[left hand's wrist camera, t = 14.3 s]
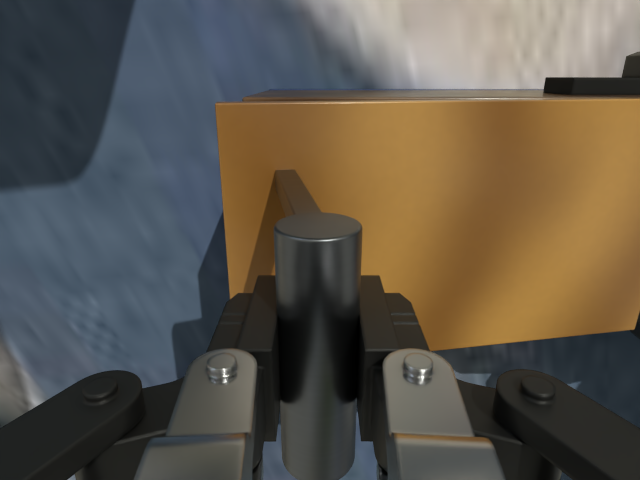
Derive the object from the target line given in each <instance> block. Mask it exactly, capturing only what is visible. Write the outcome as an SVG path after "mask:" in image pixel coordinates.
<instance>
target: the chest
mask: <svg viewBox="0 0 640 480" xmlns="http://www.w3.org/2000/svg"><path fill="white" fill-rule="evenodd" d="M543 92H544V89H270V90H269V91H265V92H261V93H258V94H254V95H250V96H247V97H244V98H243V99H242V101H243V102H254V101H361V100H467V99H573V98H640V95H565V94H553V93H543Z"/></svg>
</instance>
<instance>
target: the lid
mask: <svg viewBox="0 0 640 480" xmlns="http://www.w3.org/2000/svg"><path fill="white" fill-rule="evenodd" d="M215 111H216V124H217V137H218V150H219V163H220V176H221V189H222V202H223V215H224V228H225V241H226V254H227V267H228V280H229V293H230V299H231V298H233V297H234V296H235V295H236V294H238V293H253V290H254V287H255V284H256V280H257V277H258V275H275V280H276V306H277V315H278V338H279V366H280V393H281V402H280V413H281V440H282V459H283V463H284V465H285V467H286V469H287V470H288V472H289V473H290V474H291V475H292V476H294V477H295V478H296V479H298V480H339V479H340V478H342V477H343V476H344V475H345V474H346V473H347V472H348V471H349V470H350V468H351V467H352V465H353V462H354V458H355V435H356V405H357V398H356V395H357V366H358V337H359V313H360V289H361V275H379V276H380V278H381V282H382V285H383V289H384V292H385V293H400V294H401V295H403V296H404V297H405V298H406V299H408V300H409V301H410V302H411V304H412V306H413V309H414V311H415V315H416V316H417V319H418V321H419V325H420V327H421V329H422V332H423V334H424V337H425V339H426V342H427V344H428V347H429V350H430V351H438V350H447V349H457V348H466V347H475V346H485V345H494V344H504V343H513V342H522V341H532V340H541V339H550V338H560V337H569V336H579V335H588V334H597V333H607V332H616V331H625V330H634V329H635V326H636V323H637V319H638V315H639V312H640V98H573V99H467V100H361V101H254V102H216V104H215Z"/></svg>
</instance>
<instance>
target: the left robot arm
mask: <svg viewBox="0 0 640 480" xmlns="http://www.w3.org/2000/svg"><path fill="white" fill-rule="evenodd" d="M356 398H357V407H358V416H359V426H360V435H361V441H373V445H374V452H375V457H376V459H377V480H560V478H561V474H562V472H564V473H565V474H566V475H568V476H569V477H570V478H571V479H573V480H640V428H638V427H637V426H635V425H633V424H632V423H630V422H628V421H627V420H625V419H623V418H622V417H620V416H618V415H617V414H615V413H613V412H612V411H610V410H608V409H607V408H605V407H603V406H602V405H600V404H598V403H597V402H595V401H593V400H592V399H590V398H588V397H587V396H585V395H583V394H582V393H580V392H578V391H577V390H575V389H573V388H572V387H570V386H568V385H567V384H565V383H563V382H562V381H560V380H558V379H556V378H554V377H552V376H550V375H548V374H545V373H542V372H538V371H533V370H526V369H516V370H510V371H507V372H505V373H503V374H502V375H501V376H500V377H499V378H498V380H497V385H496V389H495V388H490V387H485V386H480V385H476V384H471V383H467V382H464V381H461V380H458V379H456V377H455V374H454V371H453V369H452V366H451V365H450V364H449V362H447V361H446V360H445V359H444V358H442V357H441V356H439V355H437V354H435V353H433V352H430V350H429V347H428V344H427V342H426V339H425V337H424V334H423V332H422V329H421V327H420V325H419V321H418V319H417V316H416V315H415V311H414V309H413V306H412V304H411V302H410V301H409V300H408V299H406V298H405V297H404V296H403V295H401V294H400V293H385V292H384V289H383V285H382V282H381V278H380V276H379V275H361V289H360V313H359V337H358V366H357V395H356ZM280 402H281V393H280V366H279V338H278V315H277V306H276V280H275V275H258V277H257V280H256V284H255V287H254V290H253V293H238V294H236V295H235V296H234V297H233V298H231V299H230V300H229V301H228V302H227V303H226V305H225V308H224V310H223V312H222V315H221V317H220V320H219V324H218V325H217V327H216V330H215V332H214V335H213V337H212V340H211V342H210V345H209V347H208V350H207V352H206V353H205V354H203V355H201V356H199V357H198V358H196V359H195V360H194V361H193V362H191V364H190V365H189V366H188V369H187V371H186V374H185V377H183V378H181V379H179V380H176V381H173V382H170V383H166V384H162V385H157V386H152V387H147V388H143V389H142V384H141V380H140V378H139V377H138V376H137V375H135V374H133V373H131V372H128V371H121V370H113V371H105V372H101V373H97V374H94V375H91V376H89V377H86V378H84V379H82V380H80V381H78V382H77V383H75V384H73V385H72V386H70V387H68V388H67V389H65V390H63V391H62V392H60V393H58V394H57V395H55V396H53V397H52V398H50V399H48V400H47V401H45V402H43V403H42V404H40V405H38V406H37V407H35V408H33V409H32V410H30V411H28V412H27V413H25V414H23V415H22V416H20V417H18V418H17V419H15V420H13V421H12V422H10V423H8V424H7V425H5V426H3V427H2V428H0V480H67V479H69V478H70V477H71V476H72V475H74V474H75V477H76V480H263V455H262V451H263V444H264V441H276V436H277V427H278V419H279V410H280Z"/></svg>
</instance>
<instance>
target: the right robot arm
mask: <svg viewBox="0 0 640 480" xmlns="http://www.w3.org/2000/svg"><path fill="white" fill-rule="evenodd" d="M543 93H553V94H565V95H640V52H636V53H634V54H631V55H629V56H626V60H625V65H624V70H623V74H622V78H546V79H545V86H544V92H543ZM630 331H631V332H632V333H633V334H634V335H635V336H637V337H638V338H639V339H640V312H639V315H638V319H637V323H636V326H635V329H634V330H630Z"/></svg>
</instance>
